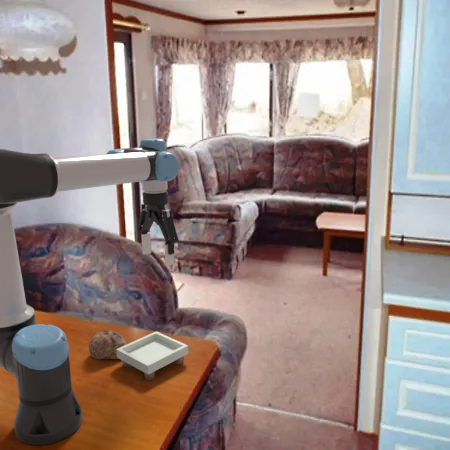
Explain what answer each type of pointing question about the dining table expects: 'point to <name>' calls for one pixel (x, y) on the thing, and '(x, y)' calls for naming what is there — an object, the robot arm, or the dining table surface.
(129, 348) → the shallow white square tray
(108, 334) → the seashell
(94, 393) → the dining table surface
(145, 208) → the robot arm
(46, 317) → the dining table surface
